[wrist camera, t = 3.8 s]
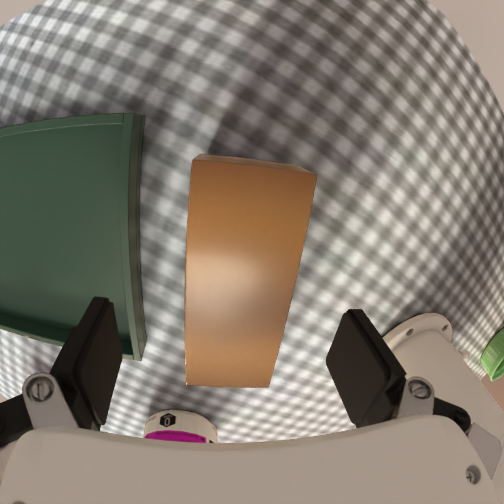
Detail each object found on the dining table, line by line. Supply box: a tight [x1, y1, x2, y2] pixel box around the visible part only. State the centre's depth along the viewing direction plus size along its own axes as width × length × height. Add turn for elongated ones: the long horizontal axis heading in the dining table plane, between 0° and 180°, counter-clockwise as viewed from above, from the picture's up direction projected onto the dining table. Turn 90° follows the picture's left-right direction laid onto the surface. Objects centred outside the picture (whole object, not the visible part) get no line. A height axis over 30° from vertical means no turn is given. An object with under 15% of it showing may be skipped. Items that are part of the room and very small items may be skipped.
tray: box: [0, 113, 147, 361], centre depth 15 cm, size 23×17×2 cm
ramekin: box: [481, 328, 504, 381], centre depth 28 cm, size 9×9×4 cm
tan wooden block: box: [185, 154, 317, 388], centre depth 16 cm, size 13×5×6 cm, turn 172°
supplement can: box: [143, 410, 218, 443], centre depth 20 cm, size 8×8×15 cm
